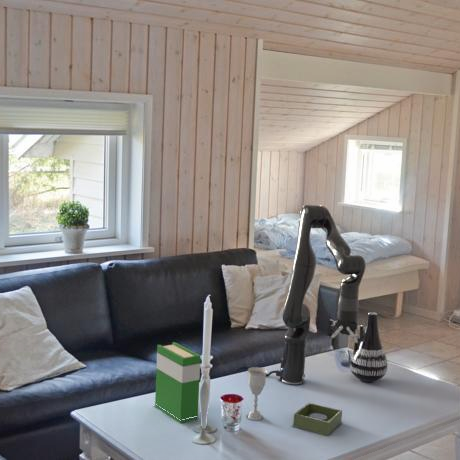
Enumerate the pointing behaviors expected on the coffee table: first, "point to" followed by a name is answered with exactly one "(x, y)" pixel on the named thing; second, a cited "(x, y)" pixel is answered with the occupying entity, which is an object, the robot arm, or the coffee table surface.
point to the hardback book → (177, 381)
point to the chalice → (256, 388)
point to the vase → (369, 354)
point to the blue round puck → (319, 416)
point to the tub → (316, 425)
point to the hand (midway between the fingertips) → (344, 349)
